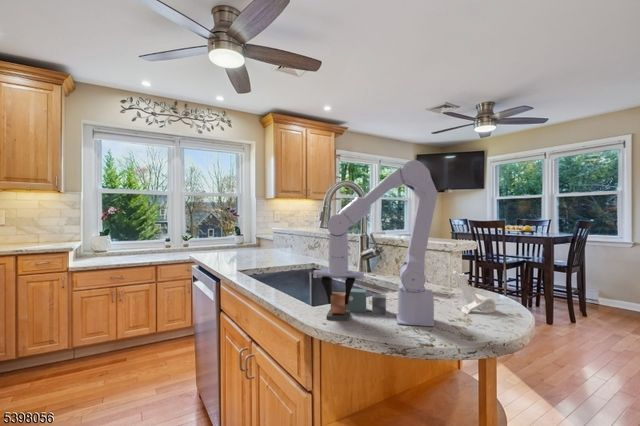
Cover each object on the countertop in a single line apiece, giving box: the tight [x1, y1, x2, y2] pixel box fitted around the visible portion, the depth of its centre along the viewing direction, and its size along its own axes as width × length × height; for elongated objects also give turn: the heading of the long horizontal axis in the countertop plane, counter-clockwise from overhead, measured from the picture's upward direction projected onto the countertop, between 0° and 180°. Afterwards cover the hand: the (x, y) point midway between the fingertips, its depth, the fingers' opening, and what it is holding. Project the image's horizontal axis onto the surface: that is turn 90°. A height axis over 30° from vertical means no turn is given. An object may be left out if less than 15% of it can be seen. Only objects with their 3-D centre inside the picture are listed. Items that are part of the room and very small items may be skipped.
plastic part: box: [452, 270, 497, 315], centre depth 99 cm, size 8×10×12 cm
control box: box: [346, 288, 367, 313], centre depth 99 cm, size 6×5×6 cm
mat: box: [326, 308, 351, 322], centre depth 93 cm, size 6×6×1 cm
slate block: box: [371, 293, 387, 316], centre depth 97 cm, size 4×4×5 cm
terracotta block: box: [330, 291, 346, 314], centre depth 93 cm, size 4×4×5 cm
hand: (338, 303), depth 93 cm, fingers open, 4 cm apart
